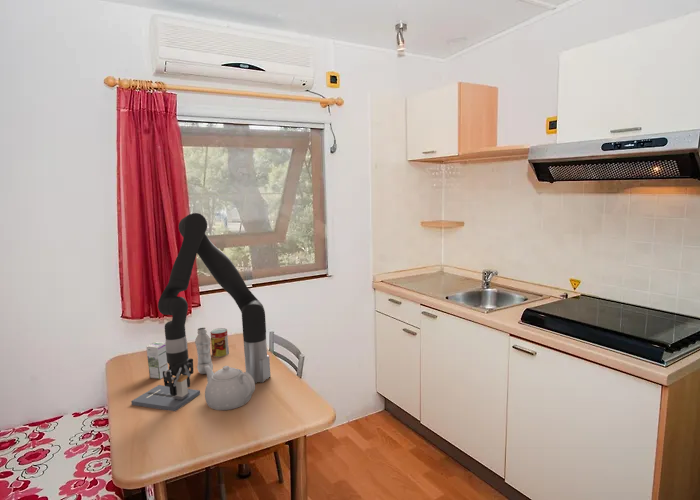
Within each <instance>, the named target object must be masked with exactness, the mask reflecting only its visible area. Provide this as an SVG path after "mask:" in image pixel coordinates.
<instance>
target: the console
mask: <svg viewBox="0 0 700 500" xmlns="http://www.w3.org/2000/svg"><path fill="white" fill-rule="evenodd" d="M188 392H189V395H188V396H186V397H185V398H183V399H182V400H180V399H173V396H172V395H171V394H170V387H167V386H165V385H161V384H158V385H156V386H154V387H152V388H151V389H149V390H148V391H146V392H144V393H142V394H141V395H139V396H138V397H136V398H134V399H132V400H131V401H130V402H131V405H132V406H138V407H143V408H149V409H157V410H164V411H170V412H177V411H179V409H181V408H182V407H184V406H185V405H186V404H188V403H190V402H191V401H192V400H194V399H195V398H196V397H198V396H200V395H201V390H199V389H192V388H188Z"/></svg>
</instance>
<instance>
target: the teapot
mask: <svg viewBox="0 0 700 500" xmlns="http://www.w3.org/2000/svg"><path fill="white" fill-rule="evenodd" d="M203 369H204V370H205V371H206V374H205V375H206V379H207V380H206V381H207V383H206V386H205V389H204V400H205V402H206V404H207V406H208V407H209V408H210V409H212V410H215V411H228V410H234V409H237V408H240V407H242V406H245V405H246V404H247V403H248V402H249V401H250V400H251V398H252V396H253V394H254V392H255V391H256V383H255V382H254V379H253V378H252V376H251V375H250V374H249V373H247V372H246V371H243V370H241V369H239V368H235V367H230V366H229V365H225V366H223V367H222V368H220V369H218V370H216V371H215V372H214V371H213V370H212V369H211V368H210V366H205V367H204V368H203Z"/></svg>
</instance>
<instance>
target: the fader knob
mask: <svg viewBox="0 0 700 500" xmlns="http://www.w3.org/2000/svg"><path fill="white" fill-rule="evenodd" d="M173 377H176V376H173ZM187 378H188V376H187V375H182V374H181V375H180V376H179V379H178V380H177V382H176V390H177V395H176V396H173V399H180V400H182V399H183V398H185V397H186V396H188V395H189V392H188V389H189V387H187ZM173 381H174V380H172V382H173Z"/></svg>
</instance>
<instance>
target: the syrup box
mask: <svg viewBox="0 0 700 500" xmlns="http://www.w3.org/2000/svg"><path fill="white" fill-rule="evenodd" d="M145 348H146V355H147V365H148V374H149V376H148V377H149V378H150V379H155V380H161V379H163V371H167V370H169V364H168V363H167V357H166V346H165V342H157V341H156V342H152V343H150V344H148V345H147V346H146V347H145Z"/></svg>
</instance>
